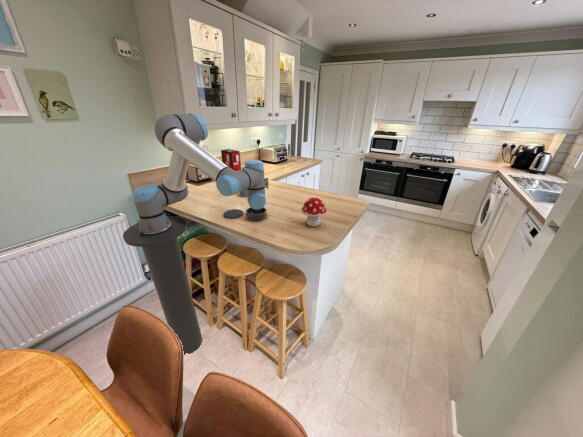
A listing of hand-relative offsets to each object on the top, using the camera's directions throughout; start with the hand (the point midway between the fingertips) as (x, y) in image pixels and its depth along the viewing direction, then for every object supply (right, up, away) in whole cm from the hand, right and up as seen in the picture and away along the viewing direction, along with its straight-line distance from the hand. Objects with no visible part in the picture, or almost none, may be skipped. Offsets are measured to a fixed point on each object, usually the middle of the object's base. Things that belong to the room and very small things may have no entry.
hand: (253, 176), depth 128 cm
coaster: (-13, -21, +8) cm, 26 cm away
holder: (+1, -22, +5) cm, 23 cm away
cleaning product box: (-35, +21, +95) cm, 103 cm away
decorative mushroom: (+33, -26, -3) cm, 42 cm away
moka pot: (-12, -6, +39) cm, 41 cm away
